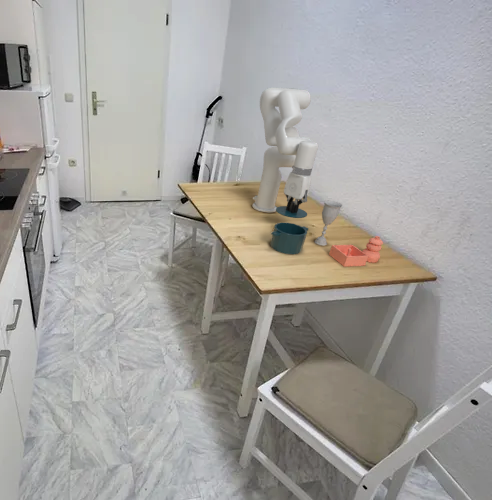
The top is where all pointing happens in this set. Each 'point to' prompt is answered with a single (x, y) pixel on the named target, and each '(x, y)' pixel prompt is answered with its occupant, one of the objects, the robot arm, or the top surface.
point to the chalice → (328, 218)
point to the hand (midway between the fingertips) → (291, 211)
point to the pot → (288, 238)
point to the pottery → (357, 253)
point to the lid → (288, 213)
